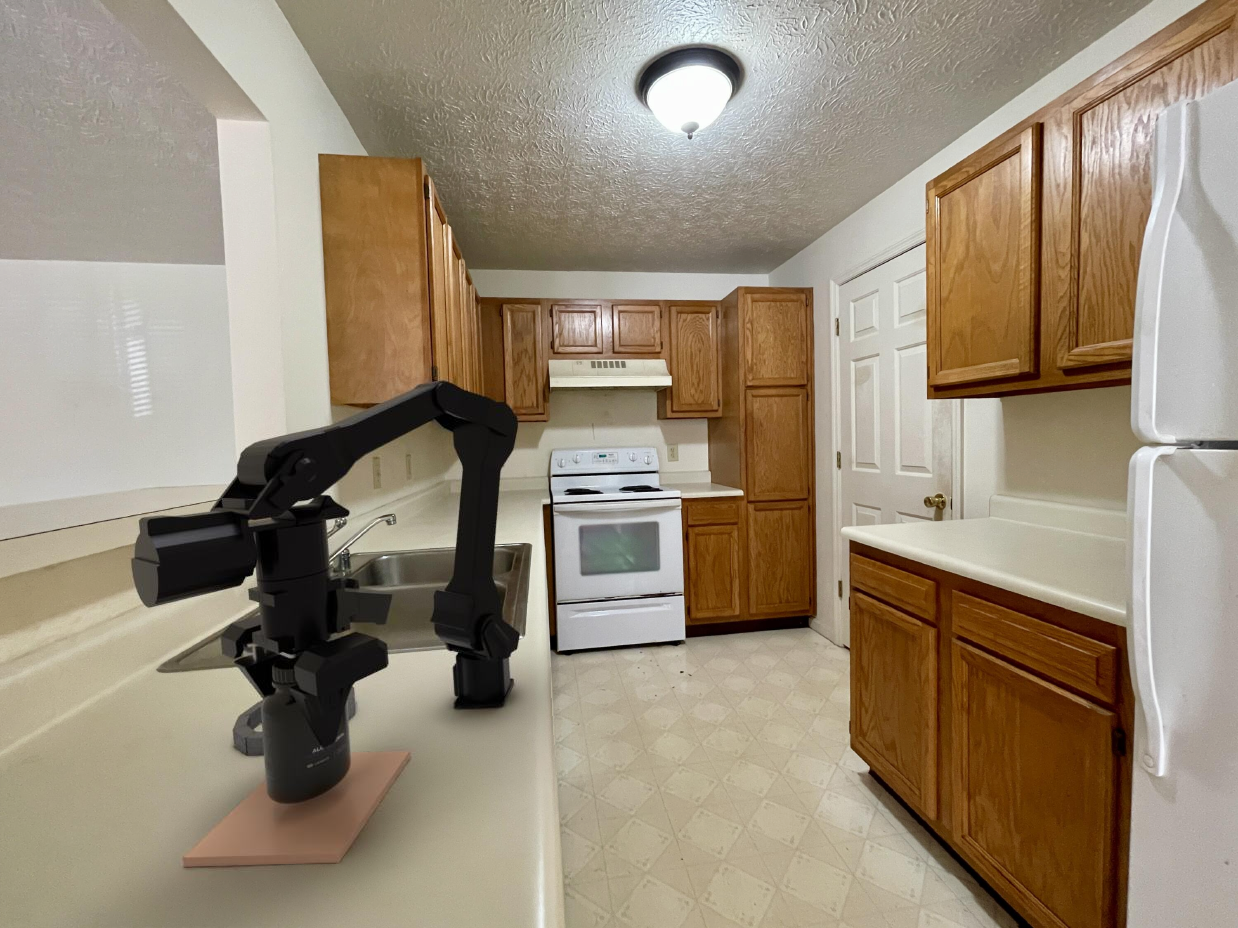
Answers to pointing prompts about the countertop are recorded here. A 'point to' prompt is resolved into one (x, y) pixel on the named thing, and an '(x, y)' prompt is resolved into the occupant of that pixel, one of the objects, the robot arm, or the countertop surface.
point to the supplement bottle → (298, 744)
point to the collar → (253, 740)
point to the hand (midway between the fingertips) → (308, 733)
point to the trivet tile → (301, 820)
